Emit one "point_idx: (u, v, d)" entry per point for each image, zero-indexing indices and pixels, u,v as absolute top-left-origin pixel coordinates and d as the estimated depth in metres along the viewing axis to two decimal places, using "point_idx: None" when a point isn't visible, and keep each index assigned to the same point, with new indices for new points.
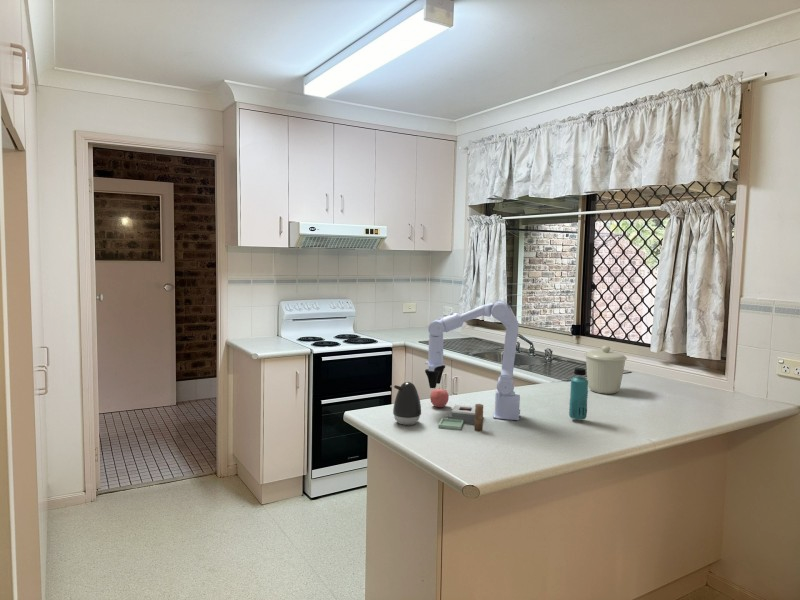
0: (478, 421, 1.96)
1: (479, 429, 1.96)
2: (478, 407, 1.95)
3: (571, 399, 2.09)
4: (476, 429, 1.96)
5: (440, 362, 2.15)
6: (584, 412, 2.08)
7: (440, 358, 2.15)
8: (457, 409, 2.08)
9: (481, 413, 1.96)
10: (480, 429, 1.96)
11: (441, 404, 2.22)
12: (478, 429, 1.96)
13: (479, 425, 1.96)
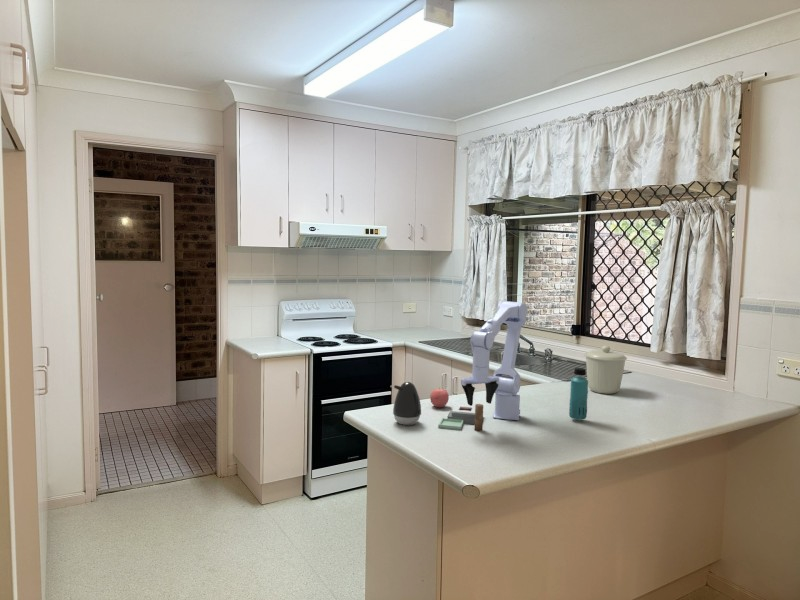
0: (478, 421, 1.96)
1: (479, 429, 1.96)
2: (478, 407, 1.95)
3: (571, 399, 2.09)
4: (476, 429, 1.96)
5: (479, 378, 1.93)
6: (584, 412, 2.08)
7: (479, 374, 1.93)
8: (457, 409, 2.08)
9: (481, 413, 1.96)
10: (480, 429, 1.96)
11: (441, 404, 2.22)
12: (478, 429, 1.96)
13: (479, 425, 1.96)
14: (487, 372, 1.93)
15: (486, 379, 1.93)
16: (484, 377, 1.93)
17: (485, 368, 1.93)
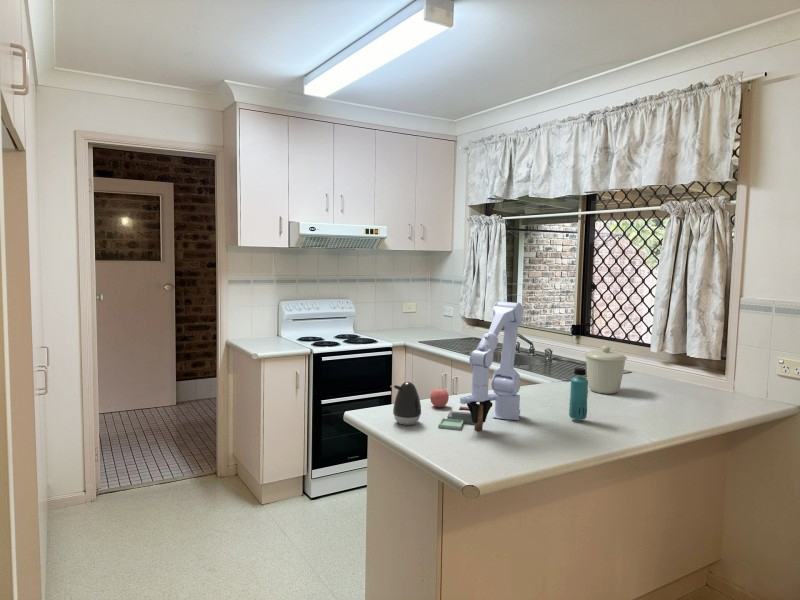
0: (478, 421, 1.96)
1: (479, 429, 1.96)
2: None
3: (571, 399, 2.09)
4: (476, 429, 1.96)
5: (479, 397, 1.93)
6: (584, 412, 2.08)
7: (479, 392, 1.93)
8: (457, 409, 2.08)
9: (481, 413, 1.96)
10: (480, 429, 1.96)
11: (441, 404, 2.22)
12: (478, 429, 1.96)
13: (479, 425, 1.96)
14: (486, 391, 1.94)
15: (485, 398, 1.94)
16: (483, 396, 1.93)
17: (484, 387, 1.93)
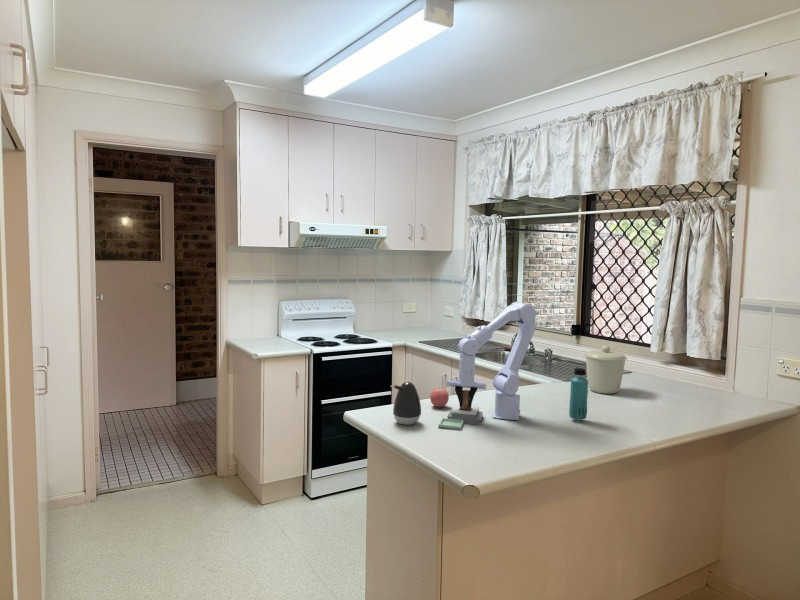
0: (462, 406, 2.08)
1: None
2: (463, 392, 2.07)
3: (571, 399, 2.09)
4: None
5: (461, 382, 2.06)
6: (584, 412, 2.08)
7: (461, 378, 2.06)
8: (457, 409, 2.08)
9: (466, 399, 2.07)
10: None
11: (441, 404, 2.22)
12: None
13: None
14: (469, 377, 2.05)
15: (467, 384, 2.05)
16: (465, 381, 2.05)
17: (466, 373, 2.05)
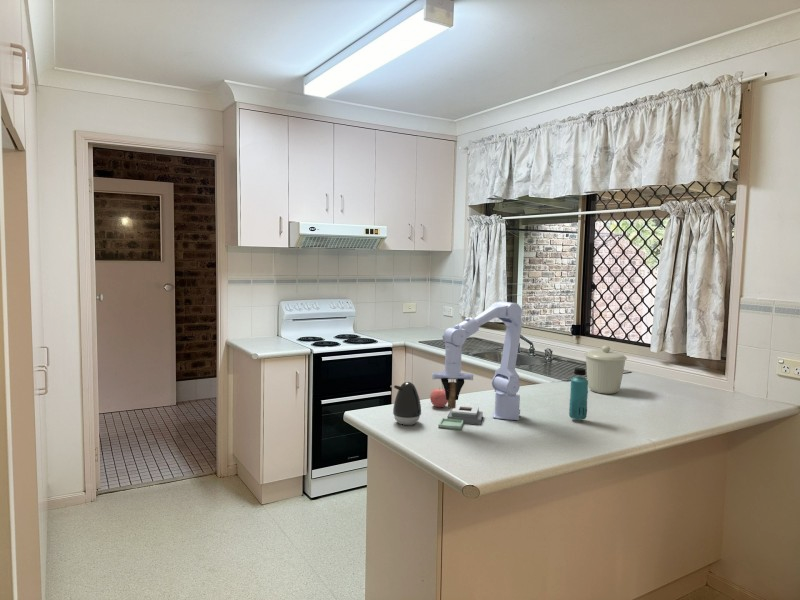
0: (449, 398, 1.99)
1: (450, 406, 2.00)
2: (450, 384, 1.99)
3: (571, 399, 2.09)
4: (448, 406, 2.00)
5: (448, 373, 1.97)
6: (584, 412, 2.08)
7: (448, 369, 1.97)
8: (457, 409, 2.08)
9: (453, 391, 1.99)
10: (452, 406, 1.99)
11: (441, 404, 2.22)
12: (450, 406, 2.00)
13: (451, 403, 1.99)
14: (457, 368, 1.97)
15: (455, 375, 1.97)
16: (453, 373, 1.97)
17: (454, 364, 1.97)
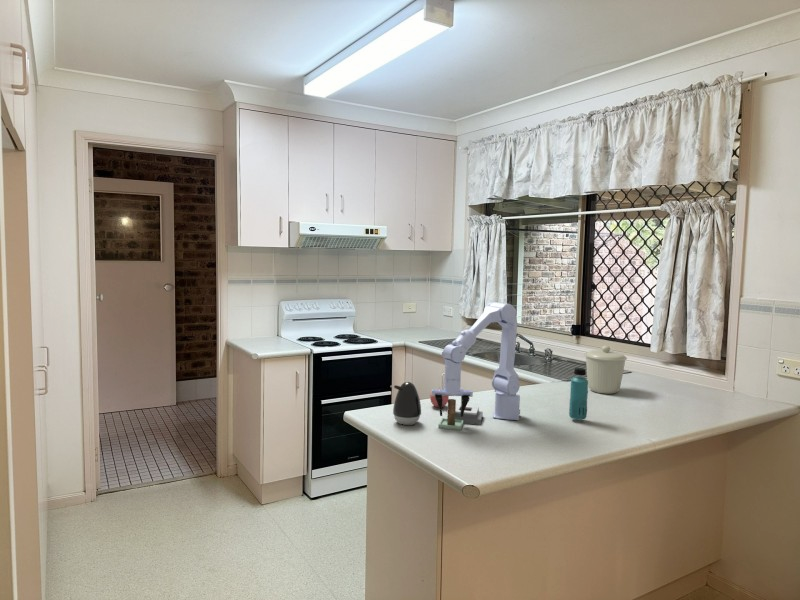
0: (449, 415, 2.00)
1: (450, 423, 2.00)
2: (449, 402, 2.00)
3: (571, 399, 2.09)
4: (448, 423, 2.01)
5: (448, 390, 1.98)
6: (584, 412, 2.08)
7: (448, 386, 1.98)
8: (457, 409, 2.08)
9: (452, 408, 2.00)
10: (451, 423, 2.00)
11: None
12: (449, 423, 2.00)
13: (450, 420, 2.00)
14: (456, 385, 1.98)
15: (455, 392, 1.98)
16: (452, 390, 1.97)
17: (453, 381, 1.97)
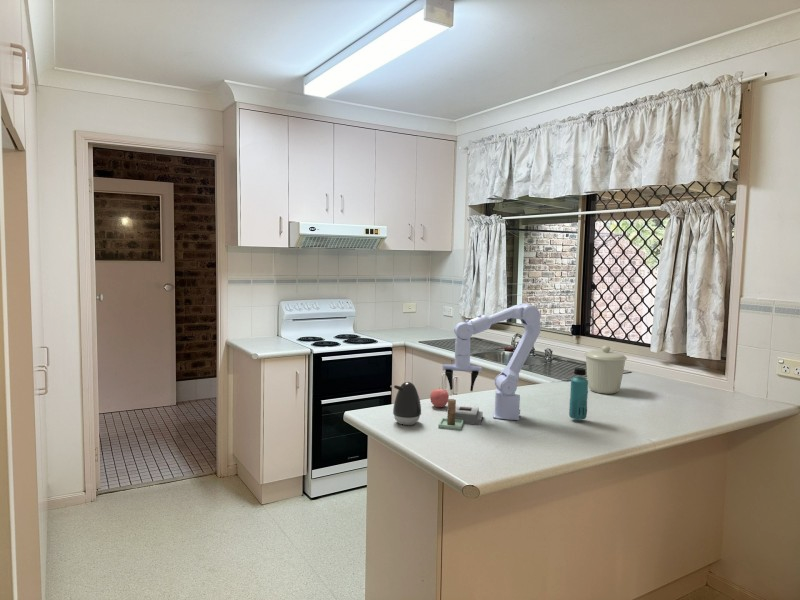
0: (449, 415, 2.00)
1: (450, 423, 2.00)
2: (449, 402, 2.00)
3: (571, 399, 2.09)
4: (448, 423, 2.01)
5: (457, 365, 2.09)
6: (584, 412, 2.08)
7: (457, 361, 2.09)
8: (457, 409, 2.08)
9: (452, 408, 2.00)
10: (451, 423, 2.00)
11: (441, 404, 2.22)
12: (449, 423, 2.00)
13: (450, 420, 2.00)
14: (464, 361, 2.08)
15: (463, 367, 2.08)
16: (461, 365, 2.08)
17: (461, 356, 2.08)
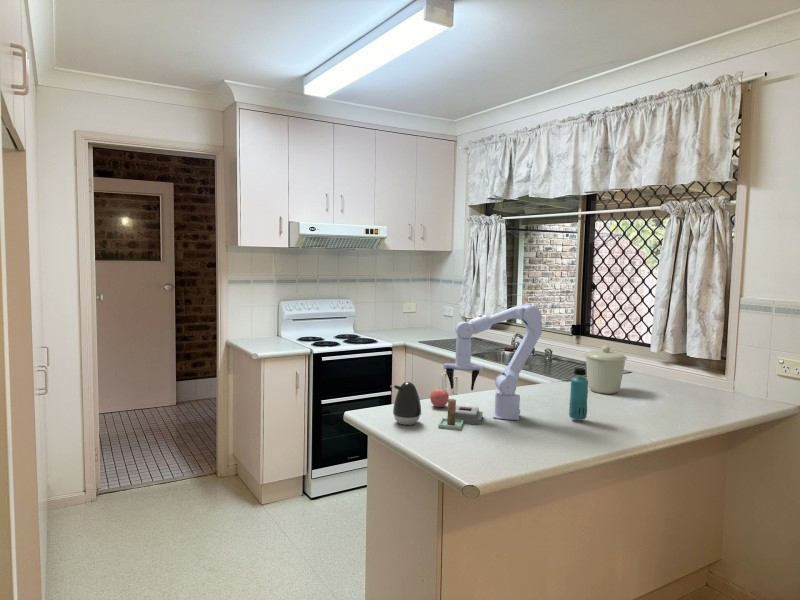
0: (449, 415, 2.00)
1: (450, 423, 2.00)
2: (449, 402, 2.00)
3: (571, 399, 2.09)
4: (448, 423, 2.01)
5: (457, 364, 2.10)
6: (584, 412, 2.08)
7: (457, 360, 2.10)
8: (457, 409, 2.08)
9: (452, 408, 2.00)
10: (451, 423, 2.00)
11: (441, 404, 2.22)
12: (449, 423, 2.00)
13: (450, 420, 2.00)
14: (465, 360, 2.09)
15: (463, 366, 2.09)
16: (461, 364, 2.09)
17: (462, 356, 2.09)
